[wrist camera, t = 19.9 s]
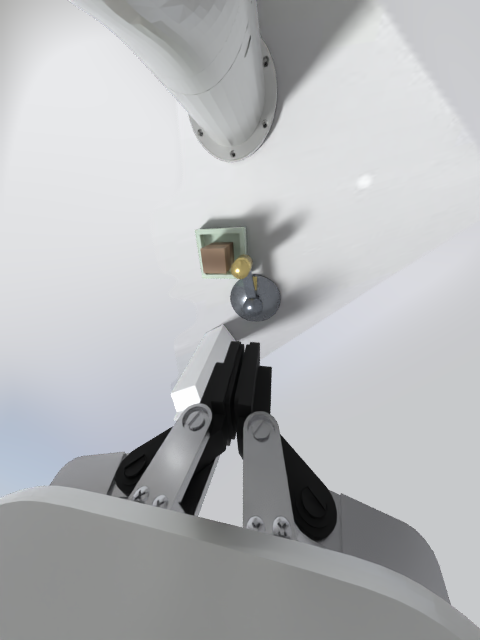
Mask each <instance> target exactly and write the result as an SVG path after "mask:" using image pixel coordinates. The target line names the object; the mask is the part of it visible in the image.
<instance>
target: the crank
mask: <svg viewBox="0 0 480 640" xmlns="http://www.w3.org/2000/svg"><path fill="white" fill-rule="evenodd" d="M251 267H252V259H251V258H250V257H249V256H248V255H245V254H243V255H240V256H239V257H238V258H237V259H236V260H235V261H234V263H233V264H232V266H231V273H232V275H233V276H234V277H235V278H237V279H243V283H244V288H245V293H246V297H247V299H246V300H245V302H244V305H243V310H244V312H245V314H247V315H248V316H251V317H256V316H258V315H260V314H261V313H262V310H263V302H262V300H261V299H260V298H258V297H256V292H255V287H254V281H253V276H252V270H251Z"/></svg>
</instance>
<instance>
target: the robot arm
mask: <svg viewBox="0 0 480 640" xmlns="http://www.w3.org/2000/svg"><path fill="white" fill-rule="evenodd" d="M68 1H69V2H71V3H72V4H74V5H75V6H77V7H78V8H80V9H81V10H83V11H84V12H86V13H87V14H89V15H90V16H92V17H93V18H95V19H96V20H97V21H99V22H100V23H101V24H103V25H104V26H105V27H106V28H108V29H109V30H110V31H111V32H112V33H114V34H115V35H116V36H117V37H118V38H119V39H120V40H121V41H122V42H123V43H124V44H125V45H127V47H128V48H129V49H130V50H131V51H132V52H133V53H134V54H135V55H136V56H137V57H138V58H139V59H140V60H141V61H142V62H143V64H145V66H146V67H147V68H148V69H149V70H150V71H151V72H152V73H153V74H154V76H155V77H156V78H157V79H158V80H159V81H160V82H161V83H162V84H163V86H164V87H165V88H166V89H167V90H168V91H169V92H170V93H171V94H172V96H173V97H174V98H175V99H176V100H177V101H178V102H179V103H180V104H181V106H182V107H183V108H184V109H185V110H186V111H187V112H188V115H189V120H190V123H191V126H192V128H193V131H194V133H195V135H196V137H197V139H198V141H199V142H200V143H201V145H202V146H203V147H204V148H205V149H206V150H207V151H208V152H209V153H210V154H211V155H212V156H214V157H215V158H217V159H219V160H222V161H226V162H237V161H240V160H244V159H245V158H247V157H249V156H251V155H252V154H253V153H254V152H255V151H256V150H257V149H258V148H259V147H260V146H261V144H262V143H263V142H264V140H265V138H266V136H267V135H268V133H269V130H270V128H271V125H272V122H273V119H274V115H275V110H276V102H277V79H276V71H275V67H274V63H273V59H272V56H271V54H270V52H269V49H268V47H267V45H266V44H265V42H264V41H263V39H262V38H261V36H260V31H259V20H258V9H257V0H68ZM265 64H268V66H267V67H264V65H265ZM264 124H267V127H266V128H264V127H263V126H264ZM201 133H203V136H202V137H201ZM233 153H235V157H233ZM271 373H272V368H271V367H266V366H260V343H255V342H250V345H246V349H245V351H244V344H241V342H239V341H231V343H230V345H229V348H228V351H227V354H226V357H225V360H224V363H220V362H217V363H216V364H215V366H214V368H213V371H212V373H211V376H210V378H209V381H208V383H207V386H206V388H205V391H204V393H203V396H202V398H201V401H200V403H198V404H193V405H191V406H189V407H187V408H186V409H185V410H184V411H183V412H182V414H181V415H180V417H179V418H178V420H177V421H176V423H175V425H174V426H173V427H171V428H169V429H168V430H166V431H165V432H163V433H161V434H160V435H158V436H156V437H155V438H153V439H152V440H150V441H148V442H146V443H145V444H143V445H142V446H140V447H138V448H137V449H135V450H134V451H132V452H131V453H127V454H126V453H125V452H117V453H108V454H98V455H89V456H81V457H78V458H75V459H74V460H72V461H70V462H68V463H67V464H66V465H65V466H64V467H63V468H62V469H61V470H60V471H59V472H58V474H57V475H56V476H55V478H54V479H53V481H52V482H51V484H50V485H49V486H38V487H32V488H27V489H23V490H19V491H16V492H13V493H10V494H8V495H6V496H3V497H1V498H0V640H480V629H479V628H478V627H477V626H476V625H475V624H474V623H473V622H472V621H470V620H469V619H468V618H467V617H466V616H464V615H463V614H462V613H460V612H459V611H458V610H457V609H455V608H454V607H453V606H451V604H450V600H449V597H448V594H447V590H446V587H445V583H444V580H443V577H442V573H441V570H440V566H439V564H438V561H437V559H436V557H435V554H434V552H433V550H432V549H431V548H430V546H429V545H428V543H427V542H426V540H425V539H424V538H423V537H422V536H421V535H420V534H419V533H418V532H417V531H416V530H415V529H414V528H412V527H411V526H409V525H408V524H406V523H404V522H402V521H400V520H398V519H396V518H394V517H392V516H389V515H387V514H385V513H383V512H381V511H378V510H376V509H374V508H372V507H370V506H368V505H366V504H363V503H361V502H359V501H357V500H355V499H353V498H350V497H348V496H346V495H344V494H342V493H341V495H339V494H337V493H335V492H332V491H330V490H328V489H327V487H326V486H325V485H324V484H323V482H322V481H321V480H320V479H319V478H318V477H317V476H316V474H314V472H313V471H312V470H311V469H310V468H309V466H308V465H307V464H306V463H305V462H304V461H303V460H302V458H300V456H299V455H298V454H297V453H296V452H295V450H294V449H293V448H292V447H291V446H290V445H289V444H288V442H287V441H286V440H285V439H284V438H283V437H282V436H281V434H280V431H279V426H278V424H277V421H276V420H275V418H274V417H273V416H271V415H270V406H271ZM236 433H237V442H238V450H239V454H240V456H241V457H242V459H243V528H242V527H238V526H234V525H230V524H226V523H221V522H217V521H213V520H209V519H205V518H200V517H198V515H199V512H200V509H201V507H202V504H203V501H204V498H205V496H206V493H207V490H208V488H209V485H210V482H211V479H212V477H213V474H214V471H215V468H216V465H217V463H218V460H219V456H220V454H222V453H223V452H224V451H225V450H226V445H228V446H230V442H231V439H235V436H236Z"/></svg>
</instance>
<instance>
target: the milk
mask: <svg viewBox="0 0 480 640" xmlns="http://www.w3.org/2000/svg"><path fill="white" fill-rule="evenodd" d="M231 341H236V340H235V339H234V338H233V336H232V335H231V334H230V332H229V331H228V330H227V328H226V327H225V326H224V325H221V326H219V327H217V328H215V329H213V330H211V331H209V332H207V333H205V335H204V337H203V339H202V340H201V342H200V344H199V346H198V347H197V349H196V351H195V352H194V354H193V356H192V358H191V359H190V361H189V363H188V364H187V366H186V368H185V370H184V371H183V373H182V375H181V377H180V378H179V380H178V382H177V383H176V385H175V387H174V389H173V390H172V392H171V396H172V399H173V402H174V405H175V408H176V411H177V413H176V415H175V417H174V421H176V420H178V418H179V417H180V415H181V414H182V412H183V411H184V410H185V409H186V408H187V407H189V406H191V405H193V404H198V403H200V401H201V398H202V396H203V393H204V391H205V388H206V386H207V383H208V381H209V378H210V376H211V373H212V371H213V368H214V366H215V364H216V363H217V362H220V363H224V360H225V357H226V354H227V351H228V348H229V345H230V343H231Z"/></svg>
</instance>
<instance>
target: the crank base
mask: <svg viewBox="0 0 480 640" xmlns="http://www.w3.org/2000/svg"><path fill="white" fill-rule="evenodd" d="M252 276H253V281H254V287H255V292H256V297H258V298H260V299H261V300H262V302H263V310H262V313H261V314H260V315H258V316H256V317H251V316H248V315H247V314H245V312H244V310H243V305H244V302H245V300H246V299H247V297H246V293H245V288H244V283H243V279H240V280H239V281H238V282H237V283H236V284H235V285H234V287H233V289H232V291H231V296H230V300H231V304H232V307H233V309H234V310H235V312H236V313H237V314H238V315H239V316H241V317H242V318H244V319H246V320H249V321H263V320H266V319H268V318H270V317H271V316H273V315H274V314H275V312H276V311H277V310H278V308H279V305H280V293H279V290H278V288H277V286H276V285H275V284H274V283H273V282H272V281H271V280H270V279H268V278H266V277H264V276H260V275H252Z"/></svg>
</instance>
